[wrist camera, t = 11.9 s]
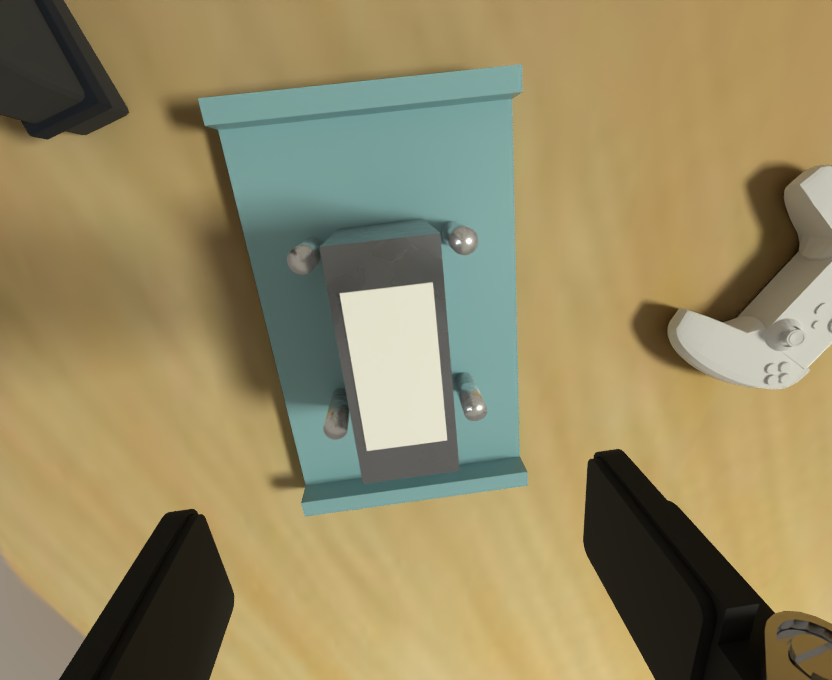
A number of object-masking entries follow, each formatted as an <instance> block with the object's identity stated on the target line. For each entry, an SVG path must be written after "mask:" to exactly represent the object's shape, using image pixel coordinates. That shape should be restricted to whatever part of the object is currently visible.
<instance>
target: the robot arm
mask: <svg viewBox="0 0 832 680" xmlns="http://www.w3.org/2000/svg"><path fill="white" fill-rule="evenodd" d="M583 543H584V548H585V551H586V554H587V556H588V558H589V560H590V562H591V564H592V565H593V567H594V569H595V571H596V573H597V574H598V576H599V578H600V580H601V582H602V584H603V585H604V587H605V589H606V591H607V593H608V594H609V596H610V598H611V600H612V602H613V604H614V605H615V607H616V609H617V611H618V613H619V614H620V616H621V618H622V620H623V622H624V624H625V625H626V627H627V629H628V631H629V633H630V634H631V636H632V638H633V640H634V642H635V643H636V645H637V647H638V649H639V651H640V653H641V654H642V656H643V658H644V660H645V662H646V663H647V665H648V667H649V669H650V671H651V673H652V674H653V676H654V678H655V680H832V624H831V623H829V622H827V621H824V620H822V619H820V618H818V617H816V616H812V615H809V614H805V613H802V612H794V611H783V612H779V613H774V612H773V610H772V609H771V608H770V607H769V606H768V605H767V604H766V603H765V602H764V601H763V599H762V598H761V597H760V596H759V595H758V594H757V593H756V592H755V591H754V590H753V588H752V587H751V586H750V585H749V584H748V583H747V582H746V581H745V580H744V579H743V577H742V576H741V575H740V574H739V573H738V572H737V571H736V570H735V569H734V568H733V566H732V565H731V564H730V563H729V562H728V561H727V560H726V559H725V558H724V557H723V555H722V554H721V553H720V552H719V551H718V550H717V549H716V548H715V547H714V546H713V544H712V543H711V542H710V541H709V540H708V539H707V538H706V537H705V536H704V535H703V533H702V532H701V531H700V530H699V529H698V528H697V527H696V526H695V525H694V524H693V522H692V521H691V520H690V519H689V518H688V517H687V516H686V515H685V514H684V513H683V511H682V510H681V509H680V508H679V507H678V506H677V505H675V504H674V503H673V502H671V501H668V500H666V498H665V497H664V496H663V495H662V494H661V493H660V492H659V491H658V490H657V488H656V487H655V486H654V485H653V484H652V483H651V482H650V481H649V479H648V478H647V477H646V476H645V475H644V474H643V473H642V472H641V470H640V469H639V468H638V467H637V466H636V465H635V464H634V463H633V462H632V460H631V459H630V458H629V457H628V456H627V455H626V454H625V453H624V452H623V451H622V450H620V449H615V450H608V451H601V452H596V453H595V455H594V459H590V460H589V461H588V468H587V485H586V502H585V519H584V536H583ZM233 607H234V593H233V590H232V587H231V584H230V582H229V579H228V576H227V574H226V571H225V568H224V566H223V563H222V560H221V558H220V555H219V553H218V550H217V547H216V545H215V542H214V539H213V537H212V534H211V531H210V529H209V526H208V523H207V521H206V518H205V516H204V515H203V514H199V515H198V513H197V511H196V510H194V509H189V510H181V511H174V512H168V513H166V514H165V515H164V516H163V517H162V519H161V521H160V522H159V524H158V525H157V527H156V528H155V530H154V532H153V533H152V535H151V536H150V538H149V539H148V541H147V542H146V544H145V546H144V547H143V549H142V550H141V552H140V553H139V555H138V557H137V558H136V560H135V561H134V563H133V564H132V566H131V568H130V569H129V571H128V572H127V574H126V575H125V577H124V579H123V580H122V582H121V583H120V585H119V586H118V588H117V590H116V591H115V593H114V594H113V596H112V597H111V599H110V600H109V602H108V604H107V605H106V607H105V608H104V610H103V611H102V613H101V615H100V616H99V618H98V619H97V621H96V622H95V624H94V626H93V627H92V629H91V630H90V632H89V633H88V635H87V637H86V638H85V640H84V641H83V643H82V644H81V646H80V648H79V649H78V651H77V652H76V654H75V655H74V657H73V658H72V661H71V662H70V663H69V665H68V666H67V668H66V670H65V671H64V673H63V674H62V676H61V677H60V679H59V680H209V679H210V676H211V673H212V670H213V667H214V664H215V661H216V658H217V655H218V652H219V649H220V646H221V643H222V640H223V637H224V634H225V631H226V628H227V625H228V622H229V620H230V617H231V614H232V611H233Z"/></svg>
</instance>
